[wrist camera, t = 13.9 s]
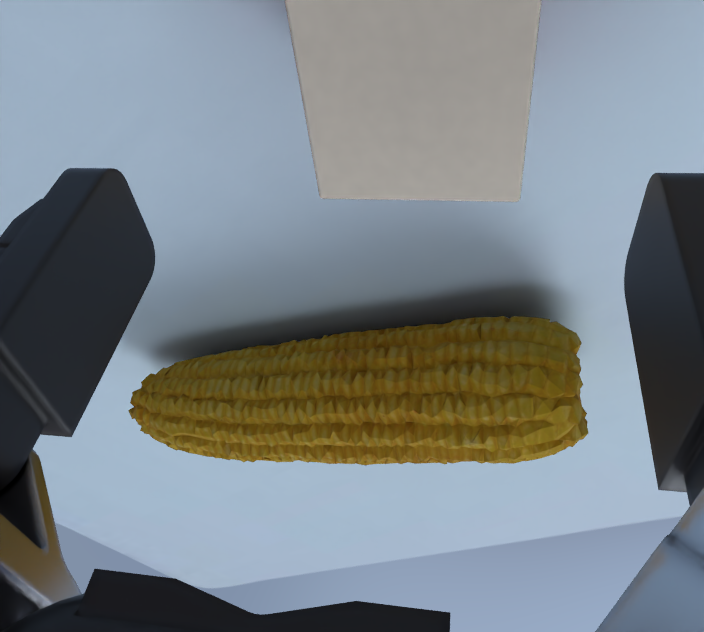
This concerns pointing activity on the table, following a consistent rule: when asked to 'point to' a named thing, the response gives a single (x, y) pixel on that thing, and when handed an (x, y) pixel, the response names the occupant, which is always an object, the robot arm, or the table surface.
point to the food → (378, 396)
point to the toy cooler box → (416, 95)
